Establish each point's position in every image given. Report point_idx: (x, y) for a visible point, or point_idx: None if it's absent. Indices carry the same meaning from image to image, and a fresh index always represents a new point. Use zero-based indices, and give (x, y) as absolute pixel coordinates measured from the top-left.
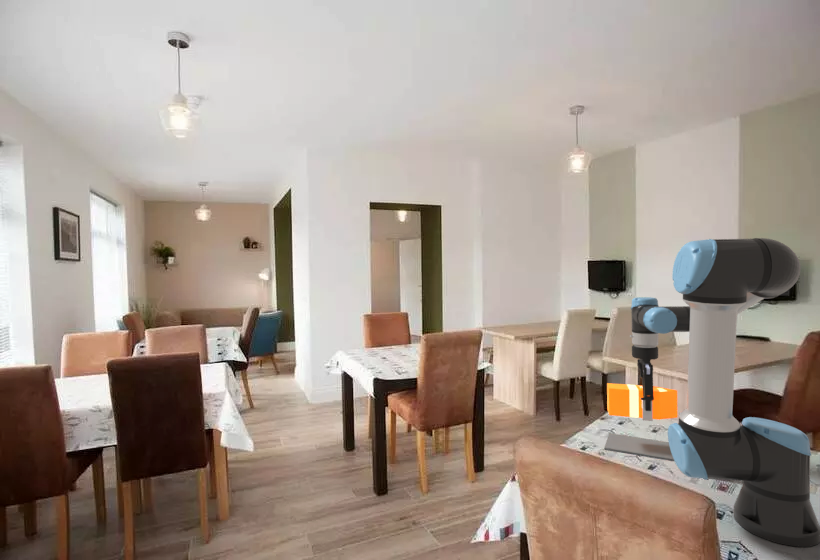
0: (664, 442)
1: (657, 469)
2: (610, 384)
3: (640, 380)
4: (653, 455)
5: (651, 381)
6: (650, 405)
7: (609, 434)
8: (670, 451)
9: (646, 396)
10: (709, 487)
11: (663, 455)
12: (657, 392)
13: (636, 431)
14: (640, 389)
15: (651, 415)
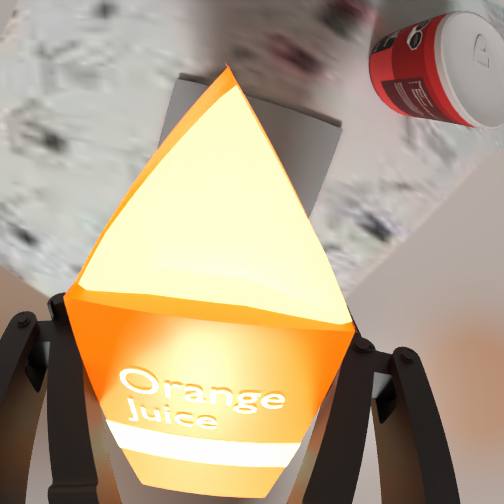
0: (172, 129)
1: (390, 218)
2: (166, 484)
3: (104, 444)
4: (310, 204)
5: (446, 479)
6: (355, 325)
7: None
8: (265, 133)
9: (396, 397)
10: (469, 132)
11: (307, 171)
12: (345, 343)
13: (74, 202)
14: (269, 434)
15: None
